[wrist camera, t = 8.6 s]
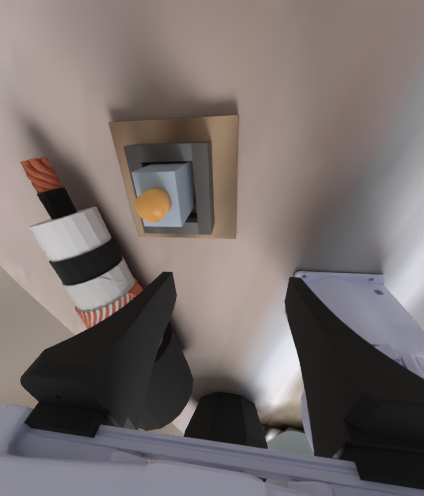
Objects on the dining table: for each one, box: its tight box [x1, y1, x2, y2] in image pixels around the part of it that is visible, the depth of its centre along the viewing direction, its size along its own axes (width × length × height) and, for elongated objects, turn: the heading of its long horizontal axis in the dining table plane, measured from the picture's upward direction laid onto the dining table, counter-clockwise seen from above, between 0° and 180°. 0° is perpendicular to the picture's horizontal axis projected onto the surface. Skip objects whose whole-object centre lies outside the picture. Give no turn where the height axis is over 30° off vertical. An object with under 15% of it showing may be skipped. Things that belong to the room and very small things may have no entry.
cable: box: [20, 158, 193, 431], centre depth 25 cm, size 10×34×10 cm, turn 16°
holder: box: [109, 115, 239, 239], centre depth 19 cm, size 11×11×4 cm
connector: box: [132, 161, 196, 227], centre depth 16 cm, size 3×4×7 cm
